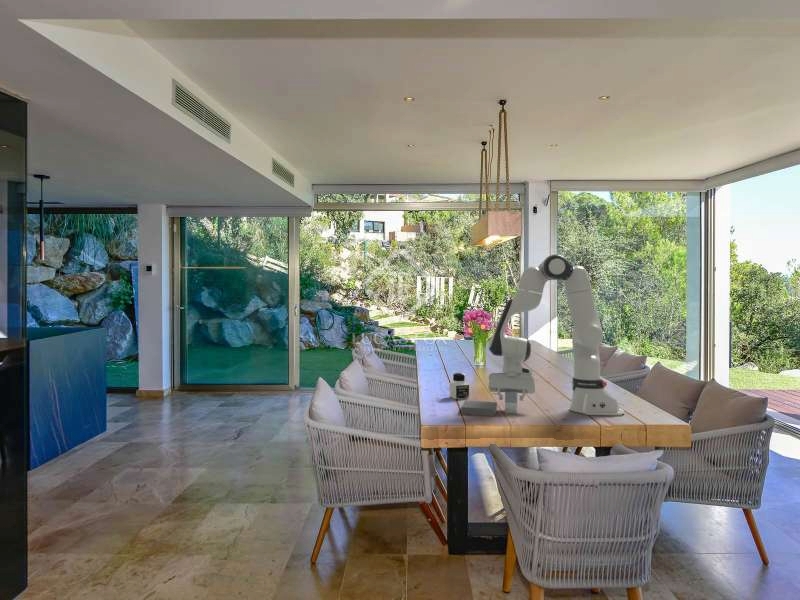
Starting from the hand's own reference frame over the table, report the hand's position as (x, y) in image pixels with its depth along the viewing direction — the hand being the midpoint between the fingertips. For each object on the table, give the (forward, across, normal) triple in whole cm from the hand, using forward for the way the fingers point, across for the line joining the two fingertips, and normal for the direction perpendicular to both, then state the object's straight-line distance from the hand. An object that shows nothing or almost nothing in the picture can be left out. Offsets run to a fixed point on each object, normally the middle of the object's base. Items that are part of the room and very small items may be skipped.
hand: (511, 399), depth 233 cm
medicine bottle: (-13, -26, +21) cm, 36 cm away
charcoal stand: (+6, -14, +2) cm, 15 cm away
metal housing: (+3, 0, +4) cm, 5 cm away
